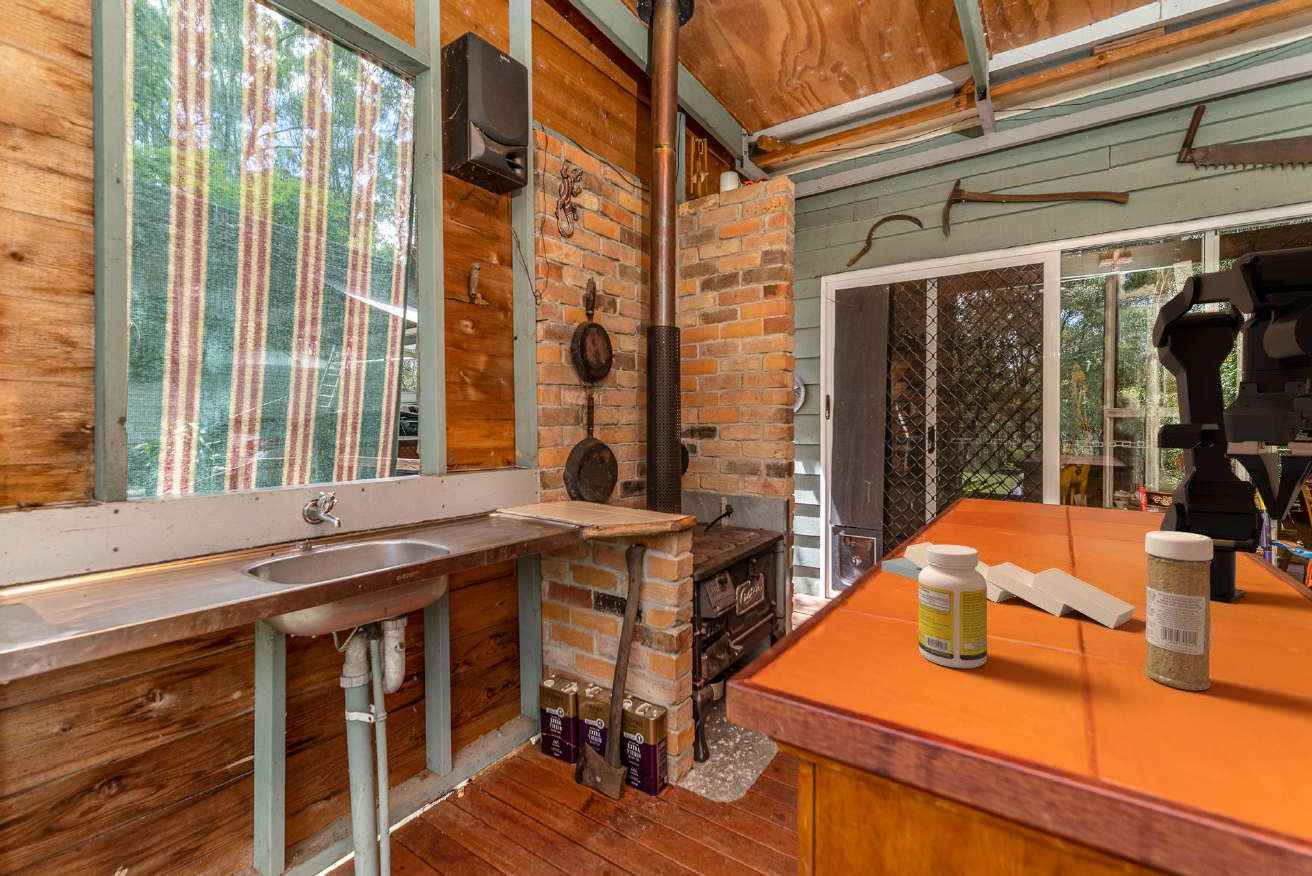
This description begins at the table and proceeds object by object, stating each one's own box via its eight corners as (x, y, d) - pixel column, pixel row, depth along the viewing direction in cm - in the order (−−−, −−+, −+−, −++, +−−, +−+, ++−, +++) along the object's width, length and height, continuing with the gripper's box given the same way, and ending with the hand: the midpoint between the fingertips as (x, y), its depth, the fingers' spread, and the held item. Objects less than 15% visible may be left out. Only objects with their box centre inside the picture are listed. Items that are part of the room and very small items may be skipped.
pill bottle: (980, 649, 61) (980, 544, 60) (993, 674, 55) (994, 558, 55) (915, 642, 63) (915, 540, 62) (921, 665, 57) (921, 553, 57)
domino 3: (995, 603, 76) (936, 565, 83) (1016, 596, 78) (957, 560, 85) (1000, 591, 75) (940, 554, 82) (1021, 585, 78) (961, 549, 85)
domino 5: (1112, 628, 66) (1031, 585, 73) (1129, 620, 69) (1049, 579, 76) (1118, 615, 65) (1036, 573, 72) (1136, 607, 68) (1054, 567, 75)
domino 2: (955, 591, 81) (903, 556, 88) (977, 585, 83) (925, 551, 90) (960, 580, 80) (907, 546, 87) (982, 574, 82) (929, 541, 90)
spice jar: (1217, 683, 52) (1220, 535, 52) (1201, 697, 50) (1204, 541, 49) (1153, 666, 56) (1155, 527, 56) (1135, 678, 54) (1137, 533, 53)
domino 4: (1058, 616, 70) (985, 579, 77) (1076, 608, 73) (1004, 573, 80) (1063, 603, 70) (989, 567, 77) (1081, 596, 73) (1008, 561, 80)
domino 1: (931, 586, 84) (881, 572, 92) (954, 582, 86) (904, 568, 94) (931, 574, 84) (881, 561, 92) (954, 570, 86) (904, 557, 94)
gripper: (1138, 375, 65) (1136, 515, 65) (1412, 359, 49) (1406, 545, 49) (1177, 377, 70) (1175, 506, 71) (1434, 364, 54) (1429, 530, 55)
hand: (1277, 519), depth 61 cm, fingers closed
